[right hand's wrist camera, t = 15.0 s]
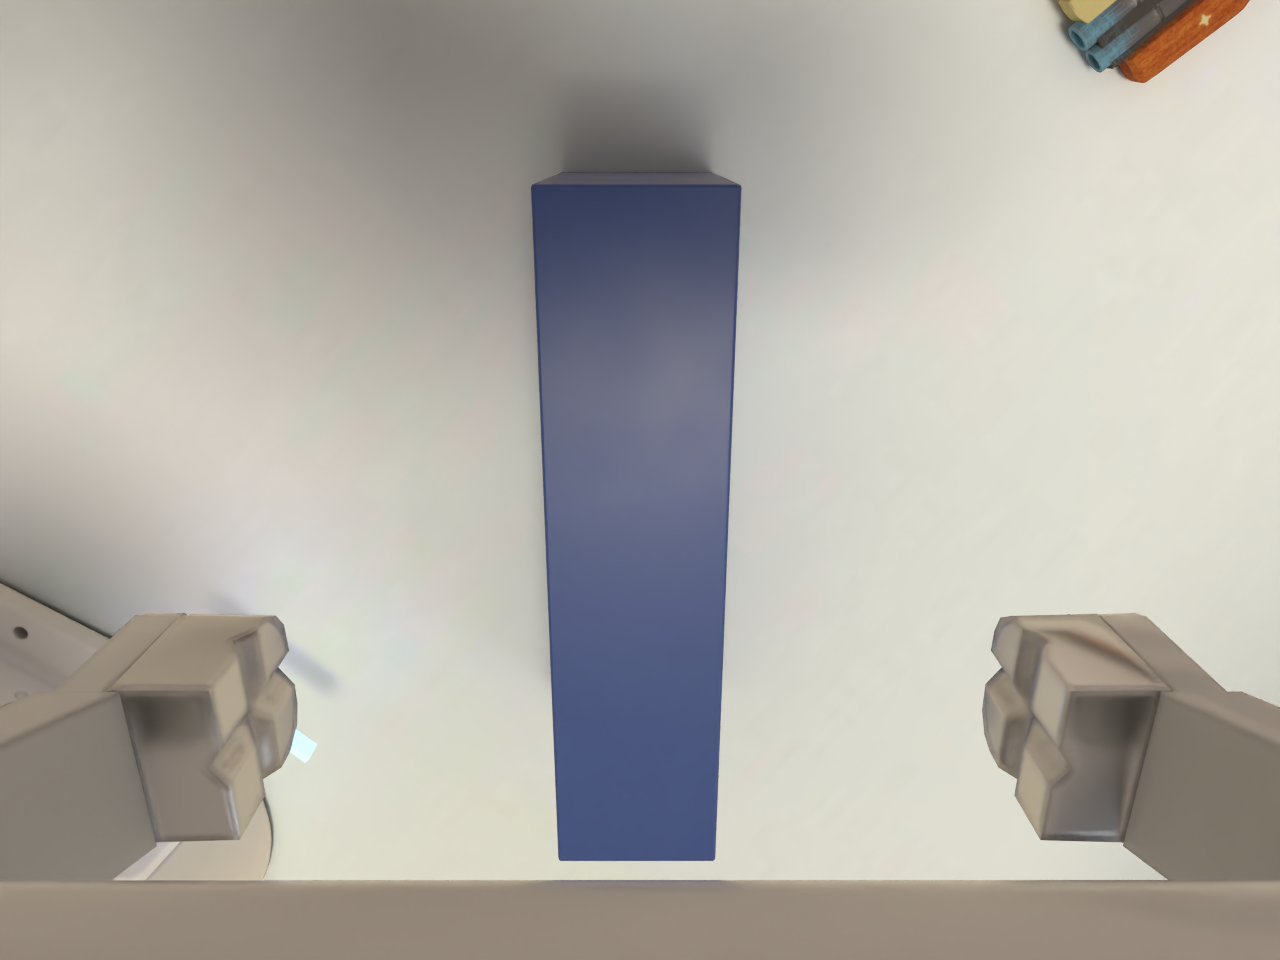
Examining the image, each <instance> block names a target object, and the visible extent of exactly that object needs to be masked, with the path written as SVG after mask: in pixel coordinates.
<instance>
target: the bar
mask: <svg viewBox="0 0 1280 960" xmlns="http://www.w3.org/2000/svg"><path fill="white" fill-rule="evenodd" d="M531 197H532V221H533V246H534V270H535V295H536V319H537V344H538V368H539V392H540V417H541V441H542V466H543V490H544V515H545V539H546V563H547V588H548V612H549V637H550V661H551V686H552V710H553V735H554V759H555V783H556V808H557V832H558V857H559V860H560V861H713V860H714V859H715V848H716V822H717V797H718V771H719V746H720V720H721V695H722V670H723V644H724V619H725V593H726V568H727V542H728V517H729V491H730V466H731V440H732V415H733V390H734V364H735V339H736V313H737V288H738V262H739V237H740V211H741V185H739V184H737V183H734V182H732V181H730V180H727V179H725V178H723V177H720V176H718V175H716V174H714V173H711V172H562V173H560V174H558V175H555V176H553V177H550V178H548V179H545V180H543V181H541V182H538V183H536V184H533V185H532V187H531Z"/></svg>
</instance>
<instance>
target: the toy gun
mask: <svg viewBox="0 0 1280 960" xmlns="http://www.w3.org/2000/svg"><path fill="white" fill-rule="evenodd" d="M1248 2H1249V0H1059V1H1058V3H1059V5H1060V6H1061V8H1062V10H1063V11H1064V13H1065V14H1066V15H1067V17H1068V18H1069V19H1071V20H1073V21H1074V22H1075V23H1074V24H1072V25H1071V26H1070V27H1069V29H1068V33H1069V36H1070V38H1071V40H1072V41H1073V43H1074V44H1075V45H1076V46H1077V47H1078V48H1079V49H1080V50H1082V51H1085V57H1086V59H1087V61H1088V63H1089V64H1090V66H1091V67H1092V68H1093V69H1095V70H1096V71H1097V72H1102V71H1103V70H1105V69H1106V68H1111V69H1113V68H1114V67H1116V66H1117V65H1119V67H1120V69H1121V71H1122V72H1123V74H1124V76H1125V77H1126V78H1127V79H1129V80H1131V81H1135V82H1140V83H1145V82H1147V81H1148V80H1150V79H1151V78H1153V77H1154V76H1155V75H1157V74H1158V73H1160V72H1161V71H1162V70H1164V69H1165V68H1166V67H1168V66H1169V65H1170V64H1172V63H1173V62H1174V61H1176V60H1177V59H1178V58H1180V57H1181V56H1182V55H1184V54H1185V53H1186V52H1188V51H1189V50H1190V49H1192V48H1193V47H1194V46H1196V45H1197V44H1198V43H1200V42H1201V41H1202V40H1204V39H1205V38H1206V37H1208V36H1209V35H1210V34H1212V33H1213V32H1214V31H1216V30H1217V29H1218V28H1220V27H1221V26H1222V25H1224V24H1225V23H1226V22H1228V21H1229V20H1230V19H1232V18H1233V17H1234V16H1236V15H1237V14H1238V13H1239V12H1240V11H1241V10H1243V8H1244V7H1245V6H1246V5H1247V3H1248Z"/></svg>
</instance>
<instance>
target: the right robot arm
mask: <svg viewBox="0 0 1280 960" xmlns="http://www.w3.org/2000/svg"><path fill="white" fill-rule="evenodd" d="M288 651H289V648H288V643H287V638H286V633H285V628H284V624H283V623H282V622H281V621H280V620H279V619H278V618H277V617H276V616H268V615H215V614H189V615H187V614H185V613H169V614H144V615H135V616H134V617H133V618H132V619H131V620H130V621H129V622H128V623H127V624H125V625H124V626H123V627H122V628H121V629H120V630H119V631H118V632H117V633H116V634H115V635H114V636H113V637H111V638H110V639H109V638H107V637H105V636H103V635H101V634H99V633H97V632H95V631H93V630H91V629H89V628H87V627H85V626H83V625H81V624H80V623H78V622H76V621H74V620H72V619H70V618H68V617H66V616H64V615H62V614H60V613H58V612H56V611H54V610H52V609H50V608H48V607H46V606H44V605H42V604H40V603H38V602H36V601H34V600H32V599H31V598H29V597H27V596H25V595H23V594H21V593H19V592H17V591H15V590H13V589H11V588H9V587H7V586H5V585H3V584H1V583H0V960H1280V707H1277V706H1275V705H1272V704H1270V703H1268V702H1265V701H1263V700H1260V699H1258V698H1256V697H1253V696H1251V695H1248V694H1246V693H1243V692H1227V691H1226V690H1225V689H1224V688H1222V687H1221V686H1220V685H1219V684H1218V683H1217V682H1216V681H1215V680H1214V679H1213V678H1212V677H1211V676H1210V675H1208V674H1207V673H1206V672H1205V671H1204V670H1203V669H1202V668H1201V667H1200V666H1199V665H1198V664H1197V663H1196V662H1195V661H1193V660H1192V659H1191V658H1190V657H1189V656H1188V655H1187V654H1186V653H1185V652H1184V651H1183V650H1182V649H1181V648H1179V647H1178V646H1177V645H1176V644H1175V643H1174V642H1173V641H1172V640H1171V639H1170V638H1169V637H1168V636H1167V635H1166V634H1164V633H1163V632H1162V631H1161V630H1160V629H1159V628H1158V627H1157V626H1156V625H1155V624H1154V623H1153V622H1152V621H1150V620H1149V619H1148V618H1147V617H1146V616H1143V615H1139V614H1136V613H1120V614H1077V615H1036V616H1009V617H1002V618H1000V620H999V622H998V624H997V627H996V629H995V631H994V637H993V642H992V648H991V651H992V653H993V654H994V656H995V657H996V659H997V660H998V662H999V664H1000V665H1001V667H1002V668H1001V669H1000V670H999V671H998V672H997V673H996V674H995V675H994V676H993V677H992V678H991V679H990V680H989V681H988V682H987V683H986V684H985V692H984V700H983V708H982V713H983V723H984V734H985V737H986V740H987V744H988V747H989V750H990V752H991V754H992V756H993V758H994V760H995V762H996V763H997V765H998V767H999V768H1001V769H1002V770H1004V771H1005V772H1007V773H1008V774H1010V775H1012V776H1013V777H1015V778H1016V779H1017V784H1016V790H1015V797H1016V799H1017V800H1018V802H1019V804H1020V806H1021V807H1022V809H1023V811H1024V812H1025V814H1026V816H1027V818H1028V819H1029V821H1030V823H1031V824H1032V826H1033V828H1034V830H1035V831H1036V833H1037V835H1038V836H1039V838H1040V840H1059V841H1096V842H1124V844H1123V846H1124V847H1125V848H1127V849H1128V850H1129V851H1131V852H1132V853H1133V854H1135V855H1136V856H1137V857H1139V858H1140V859H1141V860H1142V861H1144V862H1145V863H1146V864H1148V865H1149V866H1150V867H1152V868H1153V869H1154V870H1156V871H1157V872H1158V873H1160V874H1161V875H1162V876H1164V877H1165V878H1166V879H1168V880H263V878H264V876H265V873H266V871H267V868H268V864H269V860H270V855H271V843H272V837H271V827H270V821H269V817H268V813H267V810H266V807H265V804H264V801H263V799H264V797H265V790H264V784H263V779H264V778H265V777H267V776H268V775H270V774H272V773H273V772H275V771H276V770H278V769H279V768H281V767H282V765H283V763H284V762H285V760H286V758H287V756H288V754H289V752H291V753H292V754H294V755H295V756H297V757H298V758H299V759H301V760H302V761H304V762H306V761H307V760H308V759H309V758H310V756H311V754H312V753H313V751H314V749H315V747H316V745H317V744H315V743H314V742H313V741H311V740H310V739H308V738H307V737H306V736H304V735H303V734H301V733H300V732H299V731H297V730H296V727H297V698H296V691H295V684H294V683H293V682H292V681H291V680H290V679H289V678H288V677H287V676H286V675H285V674H284V673H283V672H282V671H281V670H280V669H279V668H278V667H279V665H280V664H281V662H282V660H283V659H284V657H285V656H286V654H287V653H288Z"/></svg>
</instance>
